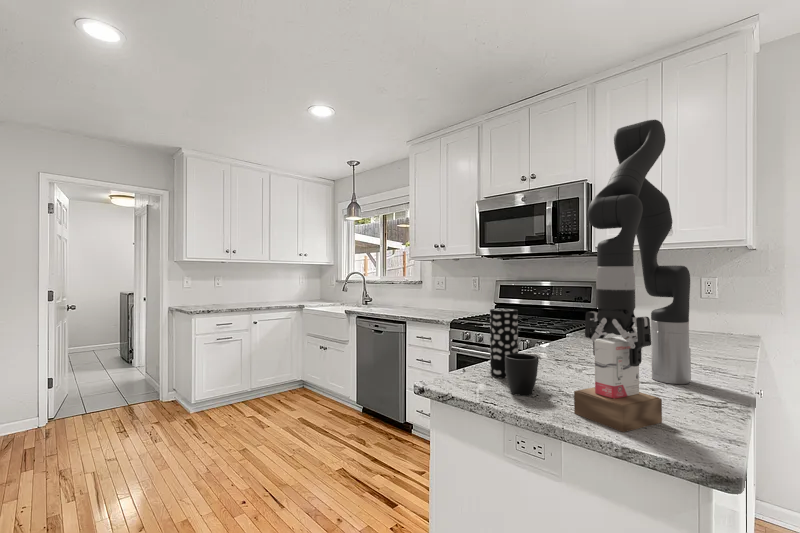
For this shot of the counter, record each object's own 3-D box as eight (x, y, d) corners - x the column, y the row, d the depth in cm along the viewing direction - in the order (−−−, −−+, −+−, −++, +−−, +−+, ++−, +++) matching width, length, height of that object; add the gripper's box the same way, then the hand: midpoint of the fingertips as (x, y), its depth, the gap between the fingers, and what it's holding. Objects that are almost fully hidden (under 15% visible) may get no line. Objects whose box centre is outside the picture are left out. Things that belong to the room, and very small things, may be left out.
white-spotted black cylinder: (521, 378, 123) (521, 311, 123) (493, 378, 123) (493, 311, 123) (514, 371, 131) (513, 308, 131) (488, 371, 131) (487, 308, 131)
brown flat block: (611, 405, 98) (611, 383, 98) (661, 422, 87) (661, 397, 87) (574, 413, 93) (574, 390, 93) (623, 432, 82) (622, 405, 82)
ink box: (613, 399, 86) (612, 342, 86) (593, 393, 90) (592, 339, 90) (640, 394, 89) (640, 339, 89) (620, 388, 94) (619, 336, 94)
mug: (551, 390, 110) (551, 354, 111) (526, 399, 103) (525, 361, 103) (524, 384, 117) (524, 350, 117) (498, 392, 109) (498, 356, 109)
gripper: (658, 288, 85) (659, 367, 85) (599, 286, 98) (600, 354, 98) (634, 289, 82) (635, 371, 82) (576, 286, 95) (577, 357, 95)
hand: (616, 362), depth 90 cm, fingers open, 8 cm apart
